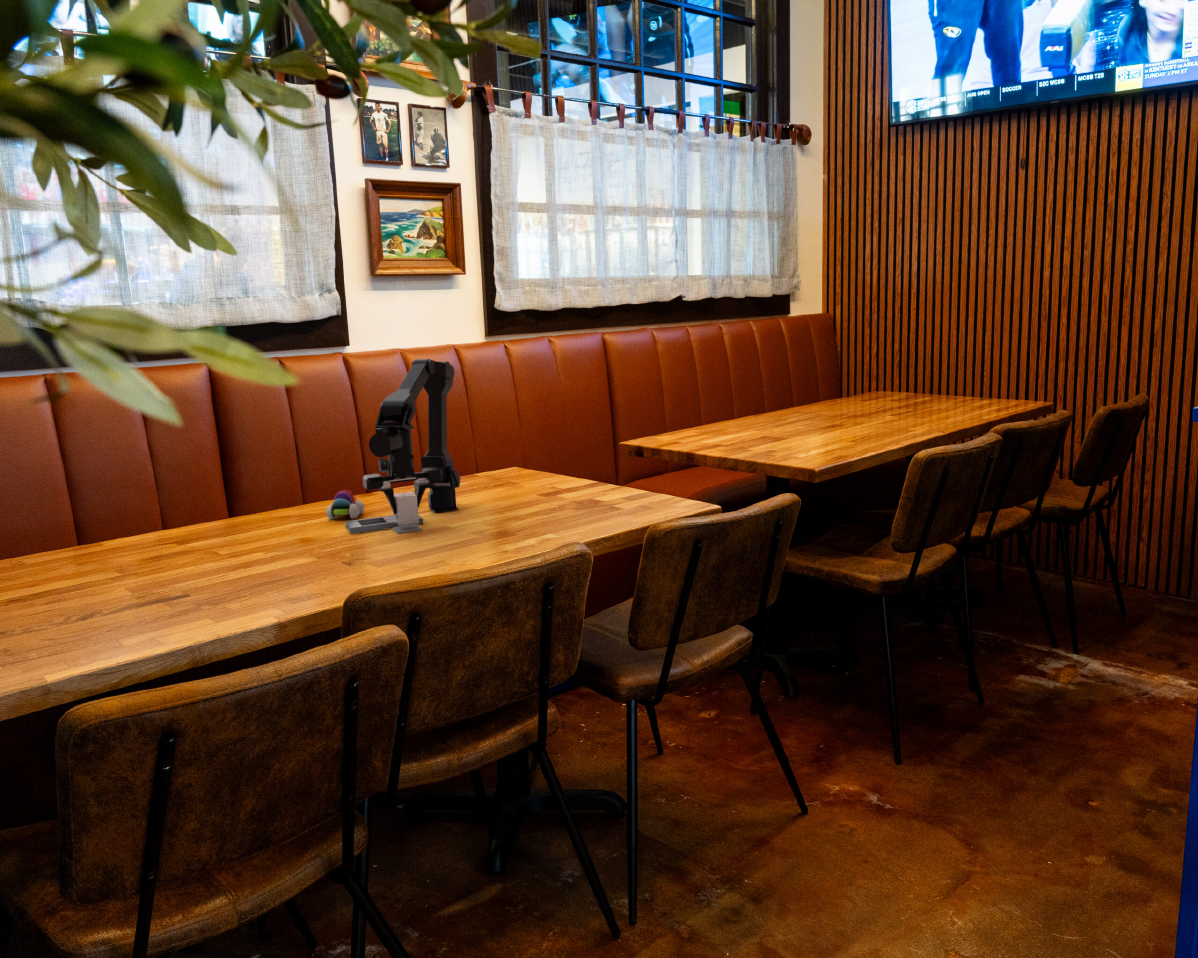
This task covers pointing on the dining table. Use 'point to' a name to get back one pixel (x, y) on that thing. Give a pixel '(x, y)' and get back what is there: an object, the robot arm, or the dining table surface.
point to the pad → (406, 528)
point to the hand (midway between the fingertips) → (405, 512)
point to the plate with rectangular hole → (373, 524)
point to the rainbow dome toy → (345, 505)
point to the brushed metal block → (406, 509)
